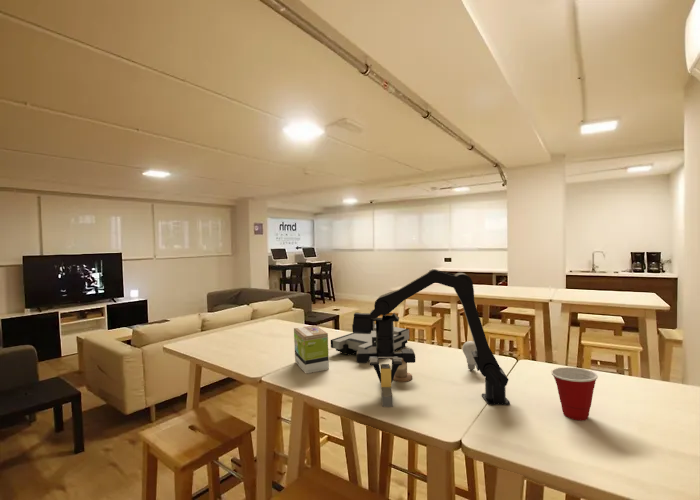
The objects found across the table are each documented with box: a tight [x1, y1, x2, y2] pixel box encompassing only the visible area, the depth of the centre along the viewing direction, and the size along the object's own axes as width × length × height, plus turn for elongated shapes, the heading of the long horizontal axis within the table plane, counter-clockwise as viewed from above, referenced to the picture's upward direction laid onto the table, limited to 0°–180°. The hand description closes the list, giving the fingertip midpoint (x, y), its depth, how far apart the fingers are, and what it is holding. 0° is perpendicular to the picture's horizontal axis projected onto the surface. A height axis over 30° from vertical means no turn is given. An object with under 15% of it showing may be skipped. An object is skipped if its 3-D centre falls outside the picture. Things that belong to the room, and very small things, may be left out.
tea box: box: [293, 324, 330, 374], centre depth 138 cm, size 15×10×15 cm, turn 25°
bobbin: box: [390, 359, 413, 383], centre depth 124 cm, size 8×8×8 cm
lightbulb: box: [462, 340, 476, 371], centre depth 129 cm, size 6×6×11 cm
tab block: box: [380, 363, 392, 388], centre depth 111 cm, size 4×3×6 cm
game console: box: [330, 323, 410, 356], centre depth 157 cm, size 21×32×8 cm, turn 139°
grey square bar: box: [380, 386, 394, 408], centre depth 111 cm, size 19×3×3 cm, turn 177°
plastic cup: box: [550, 366, 599, 421], centre depth 94 cm, size 11×11×12 cm
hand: (386, 382), depth 111 cm, fingers closed on tab block, 3 cm apart
